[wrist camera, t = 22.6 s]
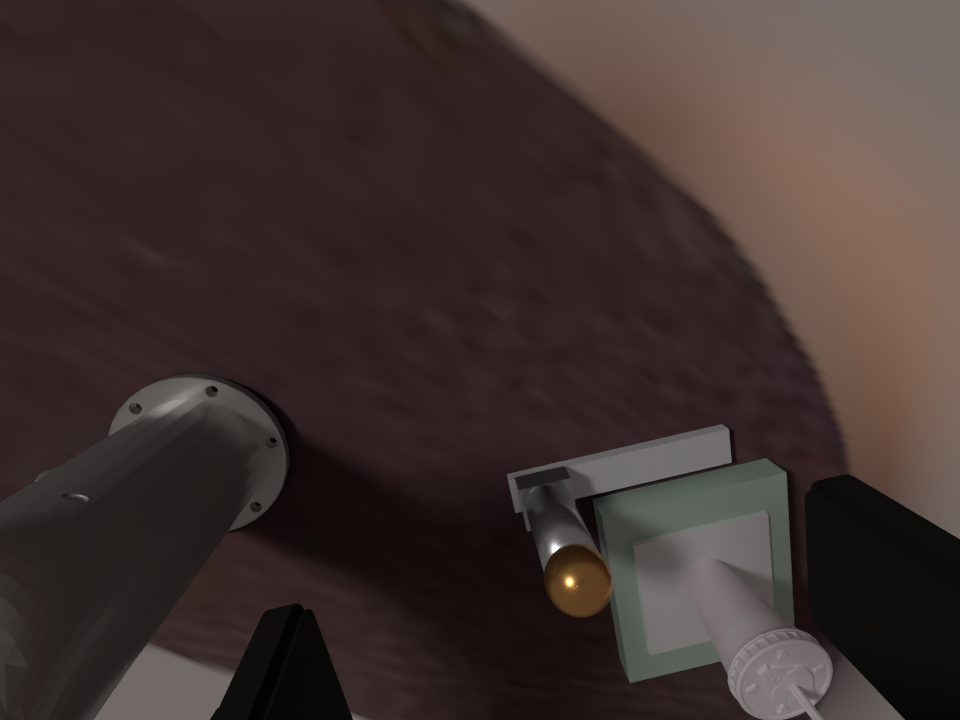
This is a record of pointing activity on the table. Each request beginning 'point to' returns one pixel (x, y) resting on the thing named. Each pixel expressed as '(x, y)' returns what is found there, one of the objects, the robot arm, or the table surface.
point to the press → (680, 539)
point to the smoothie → (758, 645)
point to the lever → (564, 544)
